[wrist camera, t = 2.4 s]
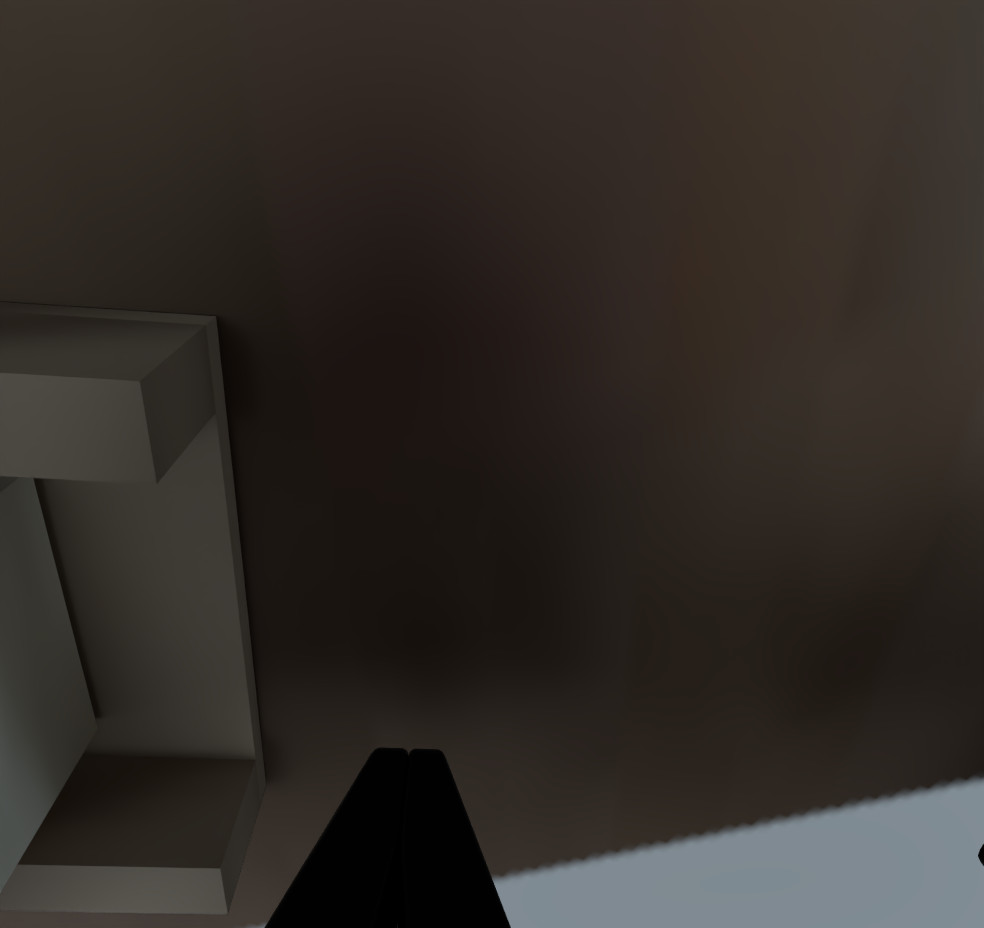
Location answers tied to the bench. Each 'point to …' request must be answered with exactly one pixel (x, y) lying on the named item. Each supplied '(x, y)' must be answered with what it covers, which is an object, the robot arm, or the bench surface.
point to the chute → (138, 606)
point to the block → (34, 676)
